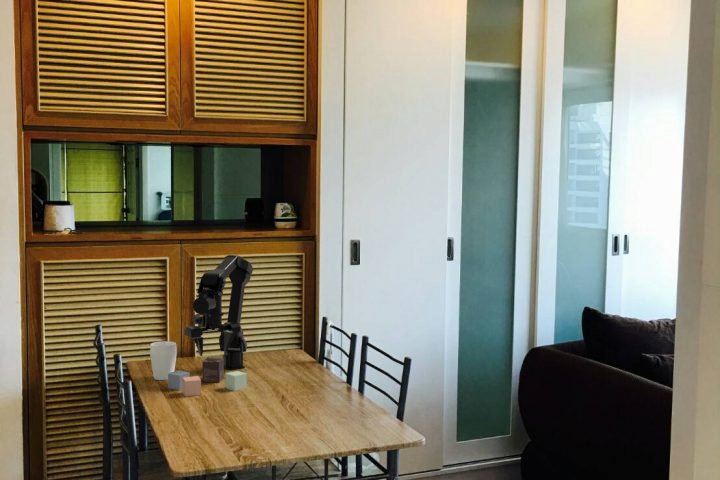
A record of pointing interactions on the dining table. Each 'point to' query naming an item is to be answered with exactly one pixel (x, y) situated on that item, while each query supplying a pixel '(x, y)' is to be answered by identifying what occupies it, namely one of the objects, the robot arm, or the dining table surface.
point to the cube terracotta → (191, 386)
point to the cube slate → (177, 379)
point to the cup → (163, 358)
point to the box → (213, 369)
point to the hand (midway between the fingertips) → (213, 354)
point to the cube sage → (236, 380)
